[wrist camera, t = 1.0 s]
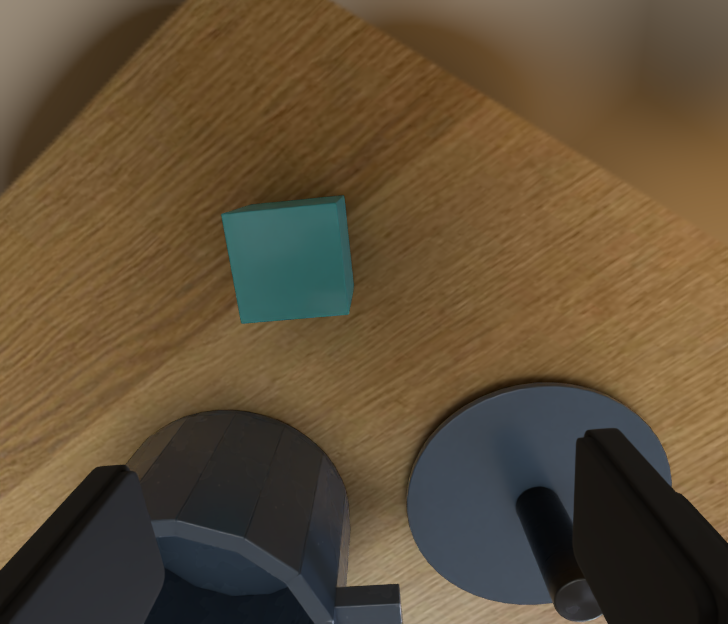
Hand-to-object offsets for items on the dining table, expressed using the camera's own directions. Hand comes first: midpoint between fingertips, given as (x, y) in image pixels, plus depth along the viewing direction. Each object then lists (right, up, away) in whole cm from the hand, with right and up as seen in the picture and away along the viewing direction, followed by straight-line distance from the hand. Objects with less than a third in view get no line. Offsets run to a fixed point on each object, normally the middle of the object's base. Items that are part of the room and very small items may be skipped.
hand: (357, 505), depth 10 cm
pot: (-7, -8, +18) cm, 21 cm away
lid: (+10, -6, +16) cm, 20 cm away
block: (-3, +7, +13) cm, 15 cm away
